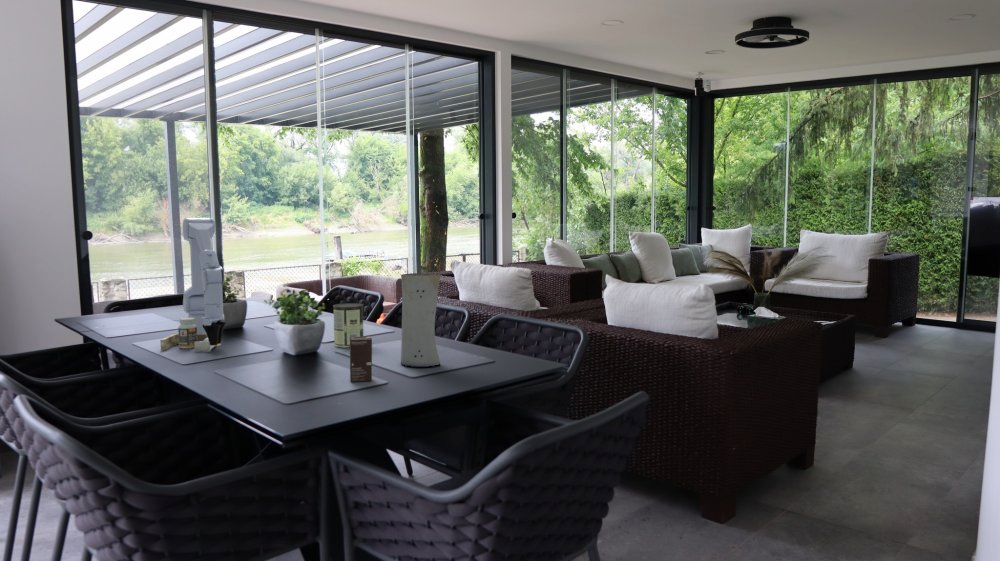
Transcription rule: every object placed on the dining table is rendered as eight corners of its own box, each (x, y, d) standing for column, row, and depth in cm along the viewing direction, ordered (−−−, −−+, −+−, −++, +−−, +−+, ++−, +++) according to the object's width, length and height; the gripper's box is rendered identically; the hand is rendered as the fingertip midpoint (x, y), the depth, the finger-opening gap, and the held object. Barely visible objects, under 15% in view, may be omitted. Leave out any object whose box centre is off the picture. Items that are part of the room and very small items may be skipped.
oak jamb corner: (173, 343, 253) (173, 334, 253) (207, 343, 254) (207, 333, 253) (160, 350, 242) (160, 339, 241) (196, 350, 242) (196, 339, 242)
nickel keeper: (199, 349, 244) (198, 339, 244) (213, 349, 244) (213, 339, 244) (194, 351, 240) (194, 342, 240) (209, 351, 241) (209, 341, 240)
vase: (450, 365, 225) (452, 274, 223) (417, 370, 215) (418, 276, 213) (423, 359, 233) (424, 272, 231) (389, 364, 223) (390, 273, 221)
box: (350, 382, 200) (349, 339, 199) (350, 379, 204) (349, 336, 203) (372, 381, 201) (372, 338, 200) (371, 378, 206) (371, 336, 204)
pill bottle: (192, 349, 244) (191, 319, 243) (175, 348, 244) (174, 319, 243) (200, 345, 250) (199, 317, 249) (183, 345, 250) (182, 317, 249)
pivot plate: (209, 344, 253) (209, 343, 253) (223, 344, 254) (223, 343, 254) (205, 346, 249) (205, 346, 249) (218, 346, 249) (218, 346, 249)
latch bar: (210, 343, 252) (210, 333, 252) (219, 343, 253) (219, 333, 252) (202, 349, 242) (202, 339, 242) (211, 349, 242) (211, 339, 242)
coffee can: (348, 341, 261) (348, 302, 259) (370, 344, 255) (369, 304, 254) (327, 345, 252) (326, 305, 251) (349, 349, 247) (348, 307, 245)
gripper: (208, 301, 250) (210, 341, 251) (193, 306, 236) (195, 347, 237) (229, 301, 250) (231, 340, 251) (215, 306, 236) (217, 347, 237)
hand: (215, 344), depth 244 cm, fingers closed on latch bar, 3 cm apart
